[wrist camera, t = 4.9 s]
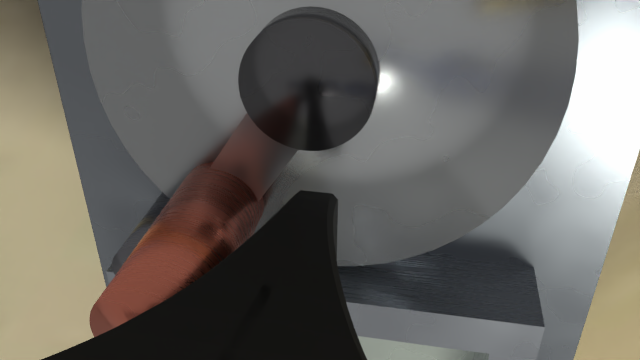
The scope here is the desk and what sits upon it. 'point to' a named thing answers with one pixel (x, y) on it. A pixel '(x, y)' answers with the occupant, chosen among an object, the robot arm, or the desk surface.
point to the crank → (323, 120)
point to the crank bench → (450, 259)
